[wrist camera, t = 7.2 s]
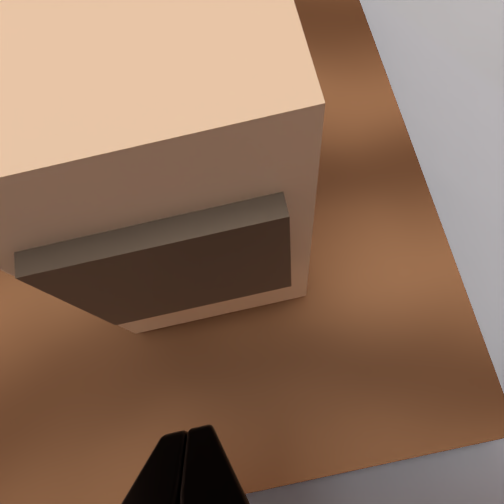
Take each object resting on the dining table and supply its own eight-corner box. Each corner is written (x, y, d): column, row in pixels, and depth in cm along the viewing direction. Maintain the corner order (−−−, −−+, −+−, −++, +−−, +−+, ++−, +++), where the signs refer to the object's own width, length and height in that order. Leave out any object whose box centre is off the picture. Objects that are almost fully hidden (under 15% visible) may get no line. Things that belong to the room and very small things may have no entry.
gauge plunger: (309, 309, 13) (335, 135, 5) (18, 374, 14) (-450, 313, 5) (275, 173, 15) (249, -144, 6) (12, 233, 15) (-362, 0, 6)
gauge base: (495, 432, 14) (709, 456, 7) (-39, 547, 14) (-383, 690, 7) (334, -25, 20) (357, -272, 12) (-40, 62, 20) (-227, -131, 13)
